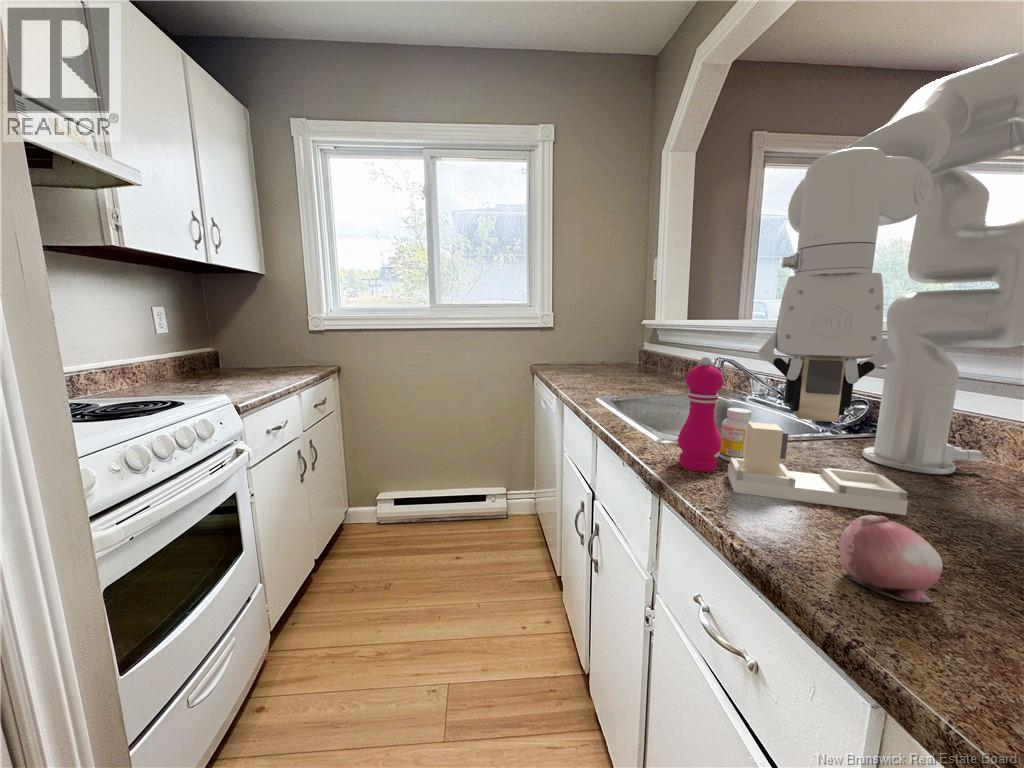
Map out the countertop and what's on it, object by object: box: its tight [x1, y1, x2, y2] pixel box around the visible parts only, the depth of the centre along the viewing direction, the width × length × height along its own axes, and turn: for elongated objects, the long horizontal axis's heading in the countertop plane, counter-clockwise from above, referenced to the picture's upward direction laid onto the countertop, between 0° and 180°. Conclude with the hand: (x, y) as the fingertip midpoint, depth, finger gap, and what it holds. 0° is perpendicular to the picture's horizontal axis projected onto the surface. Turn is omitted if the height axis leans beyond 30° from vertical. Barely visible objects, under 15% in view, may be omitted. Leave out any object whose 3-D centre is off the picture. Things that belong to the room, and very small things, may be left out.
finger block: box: [792, 357, 846, 423], centre depth 52 cm, size 5×4×8 cm
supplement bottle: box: [718, 407, 752, 462], centre depth 79 cm, size 5×5×10 cm
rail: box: [727, 421, 909, 516], centre depth 63 cm, size 21×8×10 cm, turn 70°
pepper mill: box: [677, 356, 724, 473], centre depth 74 cm, size 7×7×20 cm
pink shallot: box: [838, 514, 944, 604], centre depth 41 cm, size 8×8×7 cm
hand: (815, 409), depth 53 cm, fingers closed on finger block, 4 cm apart
